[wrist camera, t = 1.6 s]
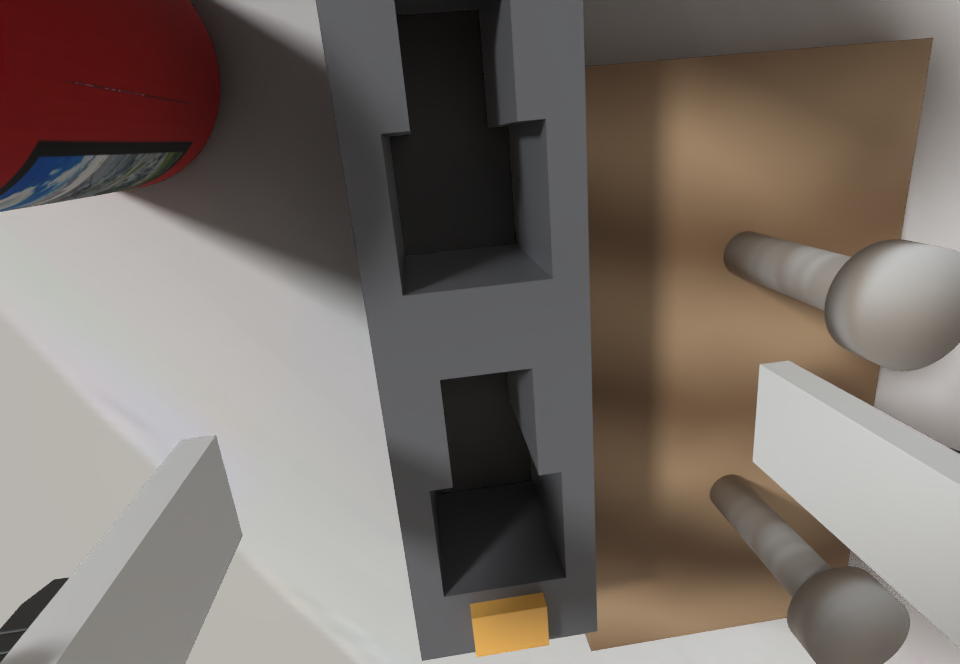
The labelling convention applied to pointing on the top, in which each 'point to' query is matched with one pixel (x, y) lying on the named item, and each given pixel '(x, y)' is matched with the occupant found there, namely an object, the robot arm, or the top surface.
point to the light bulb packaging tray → (481, 326)
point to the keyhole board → (746, 325)
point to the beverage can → (100, 96)
